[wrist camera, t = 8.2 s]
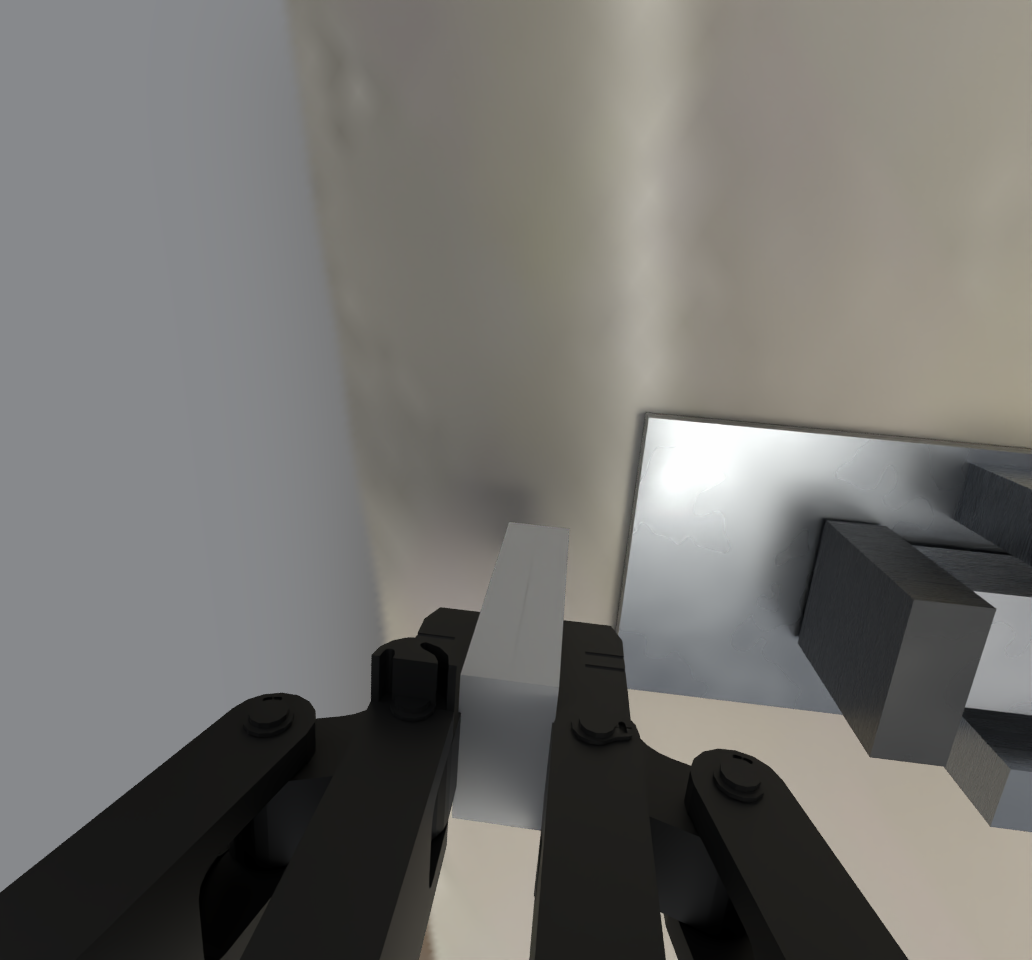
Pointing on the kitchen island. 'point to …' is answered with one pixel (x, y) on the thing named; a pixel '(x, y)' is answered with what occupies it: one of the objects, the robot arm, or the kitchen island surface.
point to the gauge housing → (805, 564)
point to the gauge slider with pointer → (916, 637)
